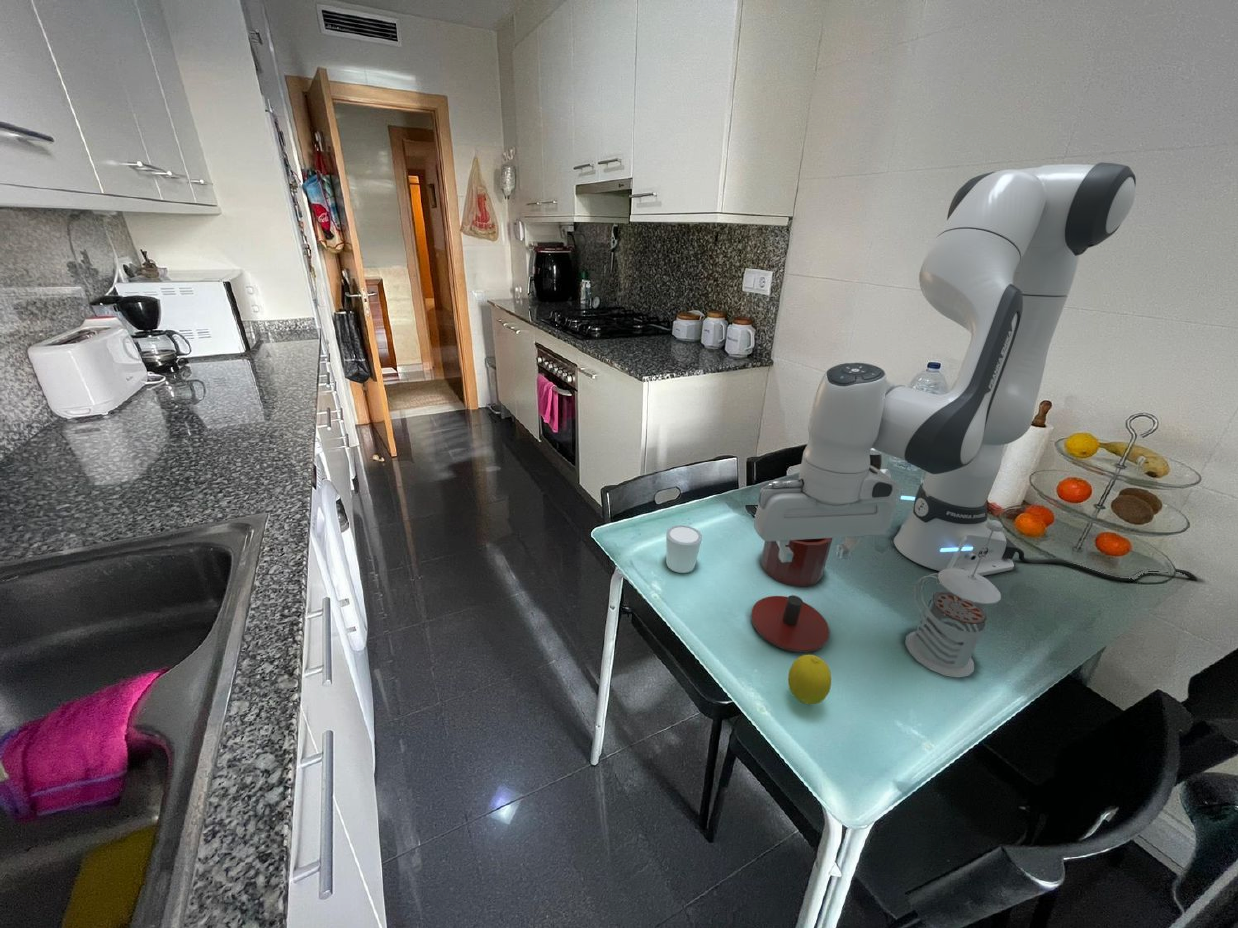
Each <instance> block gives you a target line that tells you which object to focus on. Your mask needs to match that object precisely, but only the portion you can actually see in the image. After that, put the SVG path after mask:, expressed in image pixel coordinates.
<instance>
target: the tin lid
mask: <svg viewBox="0 0 1238 928" xmlns="http://www.w3.org/2000/svg"><path fill="white" fill-rule="evenodd" d="M750 620H751V622H752V625H753V627H754V629H755V630H756V632H757V633H758V634H759V635H760V636H761V637H762V638H763V639H764V640H766V641H767V642H769V643H770V644H773V645H774V646H776V647H778V648H781V649H782V650H786V651H789V652H794V653H810V652H815V651H818V650H820V649H821V648H823V647H824V646H825V645H826V644H827V643H828V640H829V638H830V627H829V625H828V622H827V620H826V618H825V617H824V616H823V615H822V614H821V613H820V612H819V611H818V610H817V609H815V608H814V607H813V606H812V605H810V604H808V603H806V602H804V601H803V599H802V598H801V597H800V596H798V595H793V594H792V595H789V596H785V595H784V596H783V595H771V596H765V597H763V598H761V599H759V600H758V601H756V603H754V605H753V607H752V609H751V612H750Z"/></svg>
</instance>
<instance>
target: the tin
mask: <svg viewBox="0 0 1238 928" xmlns="http://www.w3.org/2000/svg"><path fill="white" fill-rule="evenodd" d="M833 539H834V538H821V539H802V540H790V541H789V545H785V547H789V548H790V549H791V551H792V552H793V553H794V555H793V558H792V562H783V563H782V562H781V560H780V559H779V550H780V548H779V546H778V544H777V542H776V541H764V543H763V548H762V553H761V558H760V564H761V567H762V570H763V571H764V572H765V573H766V574H767V575H768V576H770V577H771V578H772V579H774V580H776V581H778V582H779V583H782V584H785V585H788V586H793V587H810V586H811V587H812V586H813V585H816V584H817V583H819V582H820V581H821V579H822V577H823V575H824V571H825V568H826V564H827V560H828V556H829V554H830V549H831V545H832V542H833Z"/></svg>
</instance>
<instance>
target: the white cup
mask: <svg viewBox="0 0 1238 928" xmlns="http://www.w3.org/2000/svg"><path fill="white" fill-rule="evenodd" d="M665 536H666V537H665V539H666V540H665V544H666V545H665V548H666V549H665V551H666V552H665V554H666V555H665V557H666V558H665V559H666V561H665V564H666V566H667V568H669V569H670V570H671V571H673V572H676V573H678V574H679V573H681V574H686V573H690V572H692V571H693V570H694V569H695V567H696V563H697V559H698V556H699V551H700V548H701V545H702V544H701V543H702V540H703V535H702V533H701V532H700V531H699V530H698V529H697V528H695V527H692V526H690V525H684V524H680V525H673V526H671V527H669V528H668V529H667V530H666V535H665Z"/></svg>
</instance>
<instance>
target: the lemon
mask: <svg viewBox="0 0 1238 928" xmlns="http://www.w3.org/2000/svg"><path fill="white" fill-rule="evenodd" d="M787 683H788V687H789V690H790V692H791V694H792V695H793V696H794V698H795V699H796V700H798V701H799V702H801V703H803V704H806V705H817V704H820V703H822V702H823V701H824V700H825V699H826V698H827V696H828V695H829V694H830V692H831V686H832V673H831V669H830V667H829V666H828V664H827V663H826V662H825V661H824V660H823V659H822V658H821V657H818V656H817V655H814V654H803V655H801V656H799V657H797V658H796V659H795V661H793V663H792V665H791V666H790V668H789V671H788V677H787Z"/></svg>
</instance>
